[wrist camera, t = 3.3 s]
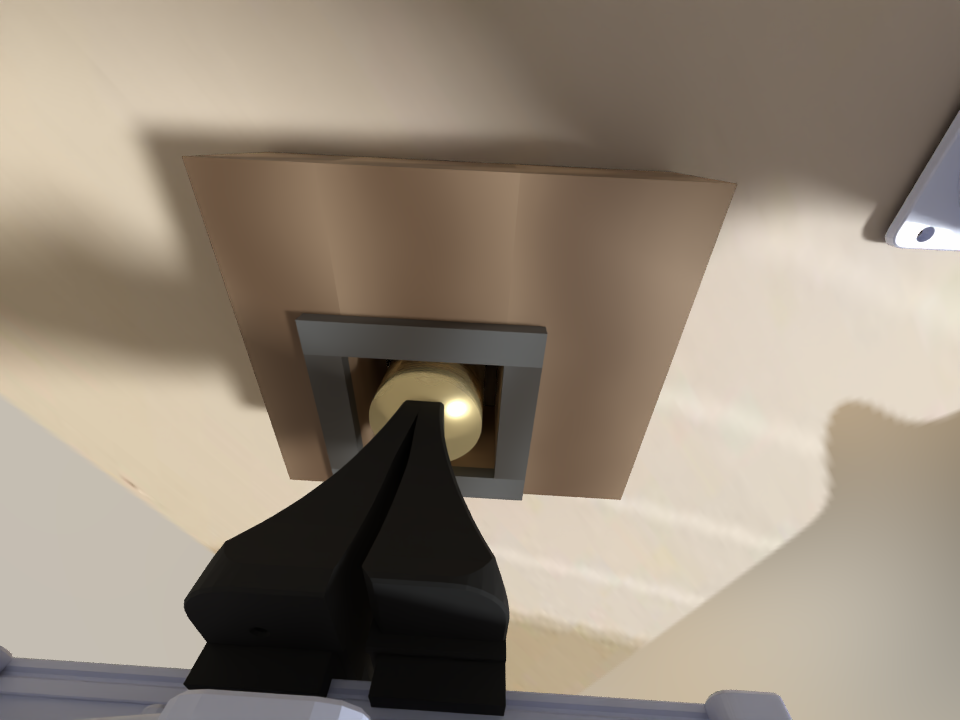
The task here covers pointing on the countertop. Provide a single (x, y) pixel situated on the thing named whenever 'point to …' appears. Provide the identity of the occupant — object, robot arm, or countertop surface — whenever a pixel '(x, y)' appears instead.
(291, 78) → the countertop surface
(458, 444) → the peg
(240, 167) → the socket block
